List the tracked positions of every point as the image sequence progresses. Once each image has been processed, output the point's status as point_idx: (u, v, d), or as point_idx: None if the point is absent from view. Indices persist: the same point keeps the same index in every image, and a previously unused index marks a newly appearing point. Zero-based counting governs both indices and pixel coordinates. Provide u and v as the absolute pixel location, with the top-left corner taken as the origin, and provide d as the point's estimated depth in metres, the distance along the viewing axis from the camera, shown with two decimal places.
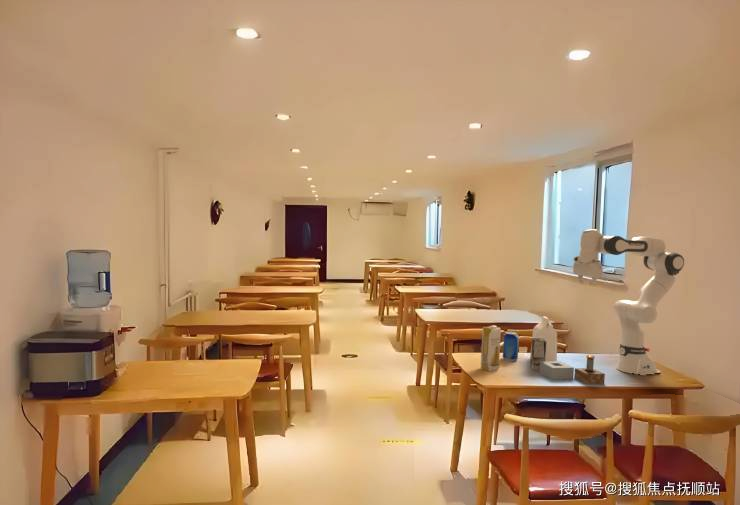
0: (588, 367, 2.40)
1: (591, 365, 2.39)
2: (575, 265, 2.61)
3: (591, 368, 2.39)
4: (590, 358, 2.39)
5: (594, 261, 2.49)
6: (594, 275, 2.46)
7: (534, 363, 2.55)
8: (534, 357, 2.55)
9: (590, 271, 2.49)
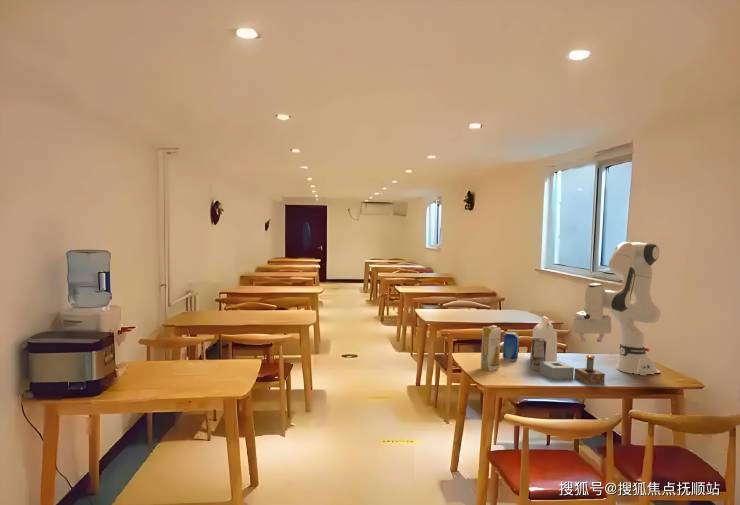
0: (588, 367, 2.40)
1: (591, 365, 2.39)
2: (581, 323, 2.36)
3: (591, 368, 2.39)
4: (590, 358, 2.39)
5: (603, 317, 2.40)
6: (608, 331, 2.40)
7: (534, 363, 2.55)
8: (534, 357, 2.55)
9: (603, 328, 2.39)
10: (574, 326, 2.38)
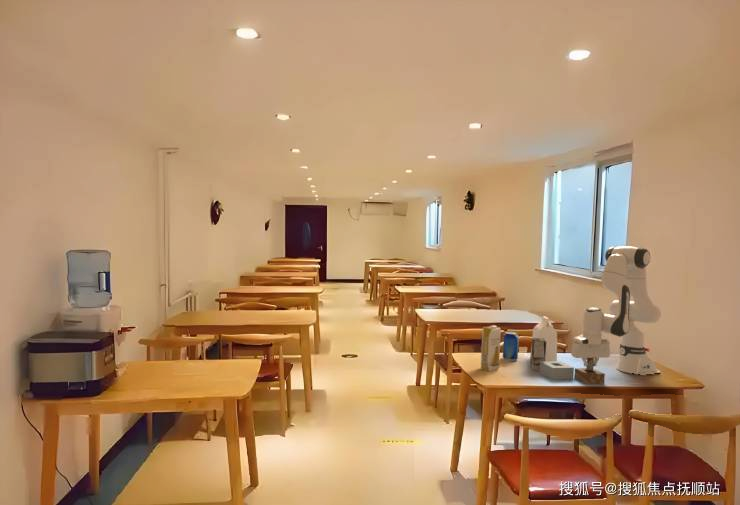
0: (588, 367, 2.40)
1: (591, 365, 2.39)
2: (580, 348, 2.37)
3: (591, 368, 2.39)
4: (590, 358, 2.39)
5: (601, 341, 2.41)
6: (607, 355, 2.40)
7: (534, 363, 2.55)
8: (534, 357, 2.55)
9: (601, 352, 2.40)
10: (572, 350, 2.39)
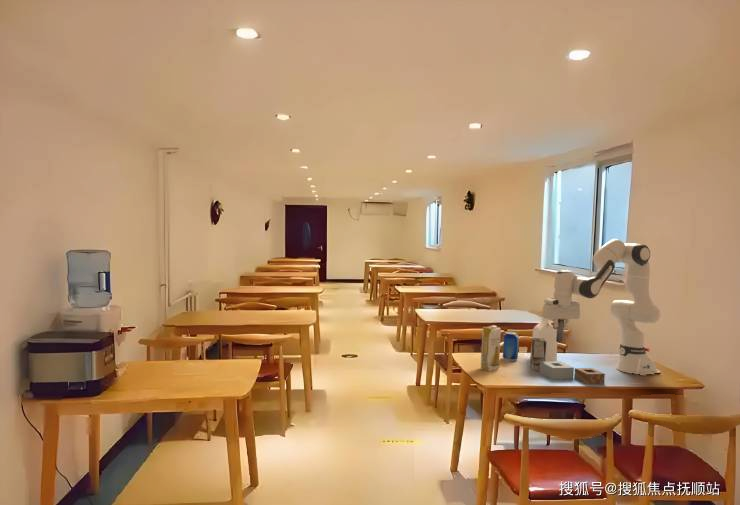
0: (558, 328, 2.44)
1: (561, 326, 2.44)
2: (550, 309, 2.42)
3: (561, 329, 2.44)
4: (560, 319, 2.44)
5: (572, 303, 2.46)
6: (577, 317, 2.45)
7: (534, 363, 2.55)
8: (534, 357, 2.55)
9: (571, 313, 2.45)
10: (543, 311, 2.44)
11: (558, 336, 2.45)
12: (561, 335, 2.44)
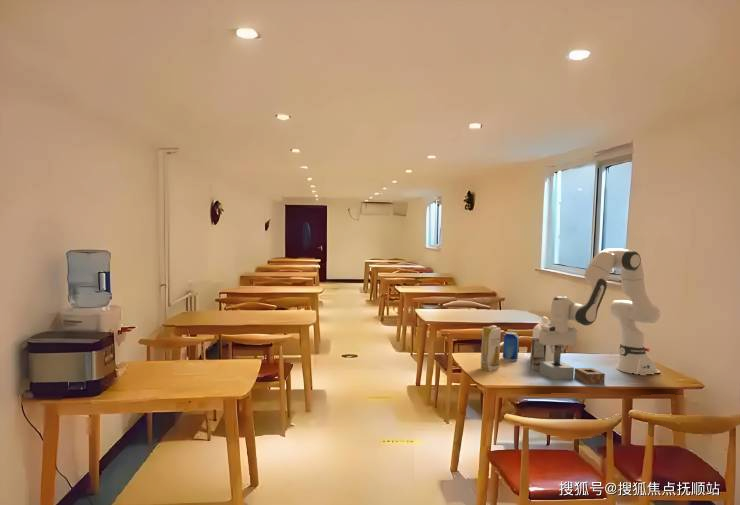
0: (555, 354, 2.46)
1: (558, 352, 2.45)
2: (547, 335, 2.43)
3: (558, 355, 2.45)
4: (557, 345, 2.45)
5: (569, 328, 2.47)
6: (574, 343, 2.46)
7: (534, 363, 2.55)
8: (534, 357, 2.55)
9: (568, 339, 2.46)
10: (540, 338, 2.45)
11: (555, 362, 2.46)
12: (558, 361, 2.45)
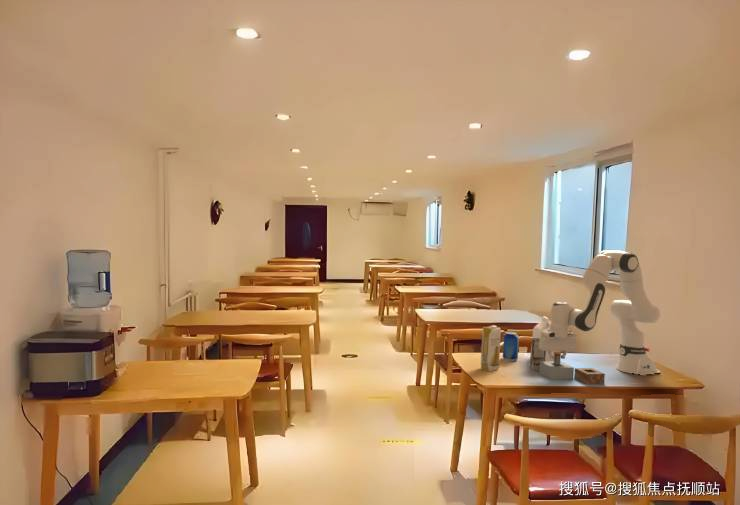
0: (555, 362, 2.46)
1: (558, 360, 2.45)
2: (546, 341, 2.43)
3: (558, 363, 2.45)
4: (557, 354, 2.45)
5: (568, 334, 2.47)
6: (573, 348, 2.46)
7: (534, 363, 2.55)
8: (534, 357, 2.55)
9: (568, 345, 2.46)
10: (540, 343, 2.45)
11: None
12: None
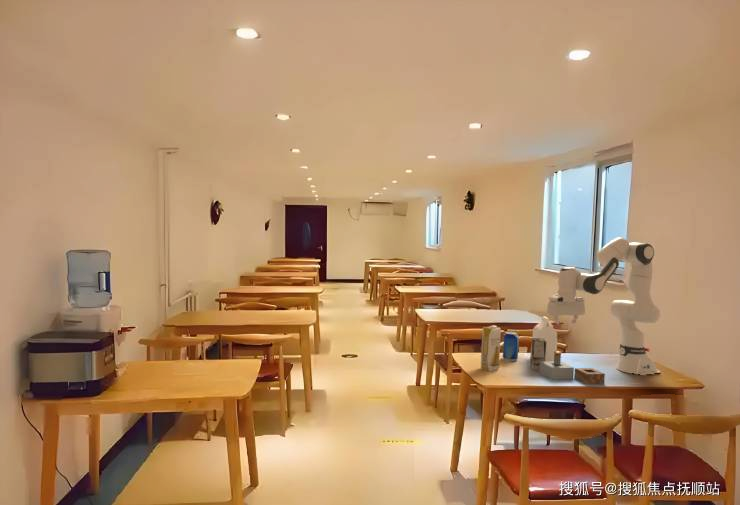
0: (555, 362, 2.46)
1: (558, 360, 2.45)
2: (555, 306, 2.44)
3: (558, 363, 2.45)
4: (557, 354, 2.45)
5: (576, 299, 2.48)
6: (582, 313, 2.47)
7: (534, 363, 2.55)
8: (534, 357, 2.55)
9: (576, 309, 2.47)
10: (548, 309, 2.46)
11: None
12: None
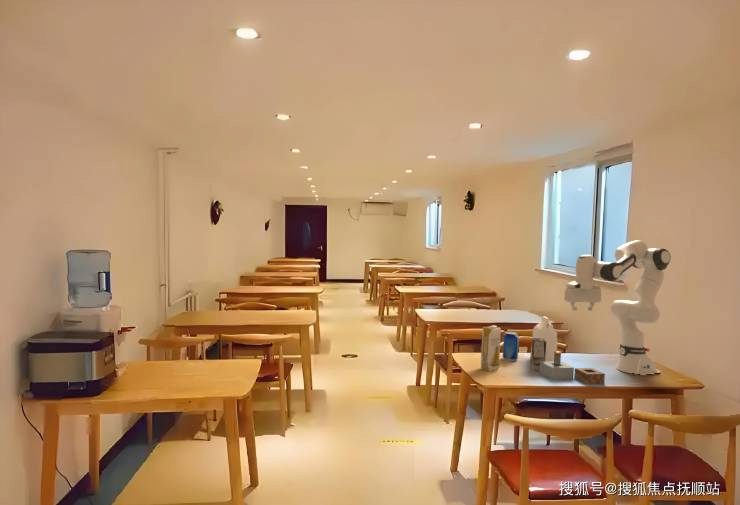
0: (555, 362, 2.46)
1: (558, 360, 2.45)
2: (572, 293, 2.49)
3: (558, 363, 2.45)
4: (557, 354, 2.45)
5: (593, 286, 2.53)
6: (598, 300, 2.52)
7: (534, 363, 2.55)
8: (534, 357, 2.55)
9: (593, 297, 2.52)
10: (565, 295, 2.51)
11: None
12: None
